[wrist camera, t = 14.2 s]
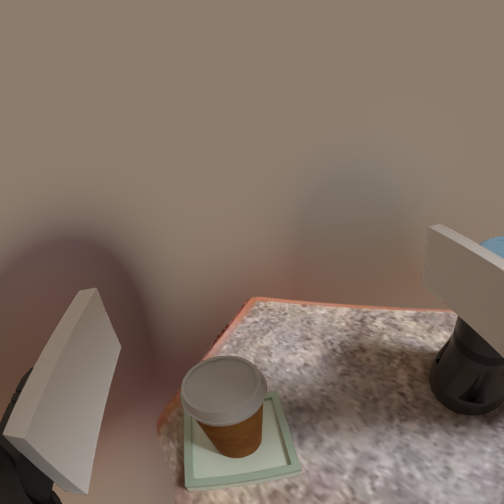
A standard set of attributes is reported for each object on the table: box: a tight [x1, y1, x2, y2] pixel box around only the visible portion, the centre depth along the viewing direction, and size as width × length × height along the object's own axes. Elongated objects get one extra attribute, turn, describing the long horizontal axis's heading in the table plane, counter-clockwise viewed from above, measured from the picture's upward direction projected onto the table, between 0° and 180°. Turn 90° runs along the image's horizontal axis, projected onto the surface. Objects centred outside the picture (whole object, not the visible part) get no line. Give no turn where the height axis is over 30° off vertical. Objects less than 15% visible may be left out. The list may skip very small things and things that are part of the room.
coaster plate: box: [184, 391, 302, 492], centre depth 35 cm, size 14×14×2 cm
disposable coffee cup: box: [180, 356, 267, 458], centre depth 32 cm, size 10×10×12 cm
